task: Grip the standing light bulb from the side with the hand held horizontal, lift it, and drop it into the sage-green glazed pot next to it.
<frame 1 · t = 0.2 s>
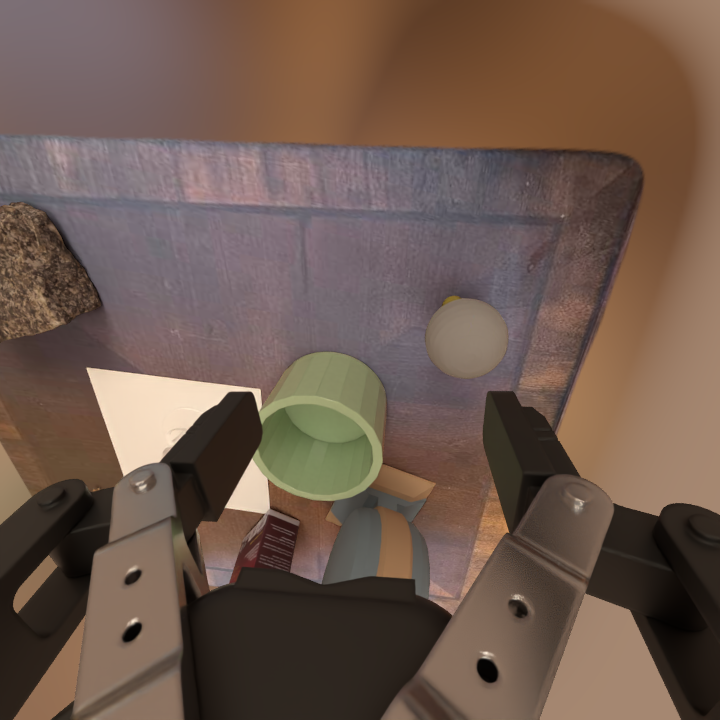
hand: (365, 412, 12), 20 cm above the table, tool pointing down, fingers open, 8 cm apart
alarm clock: (377, 500, 43), on the table
stone: (27, 271, 34), on the table
light bulb: (452, 305, 30), on the table
supplement box: (270, 528, 47), on the table
pot: (332, 400, 36), on the table
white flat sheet: (187, 446, 42), on the table
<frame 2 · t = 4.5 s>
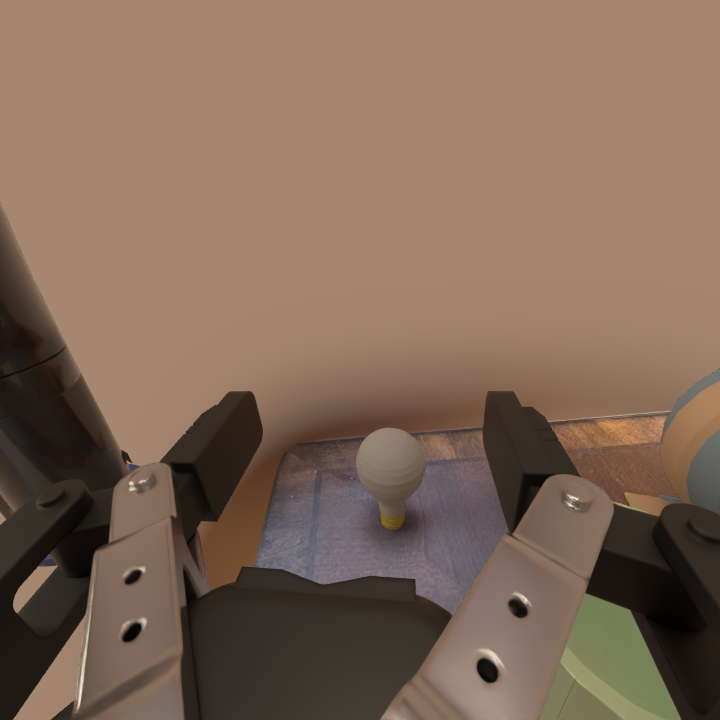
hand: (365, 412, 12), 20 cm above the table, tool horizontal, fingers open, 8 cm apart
light bulb: (393, 525, 31), on the table
pot: (597, 667, 21), on the table
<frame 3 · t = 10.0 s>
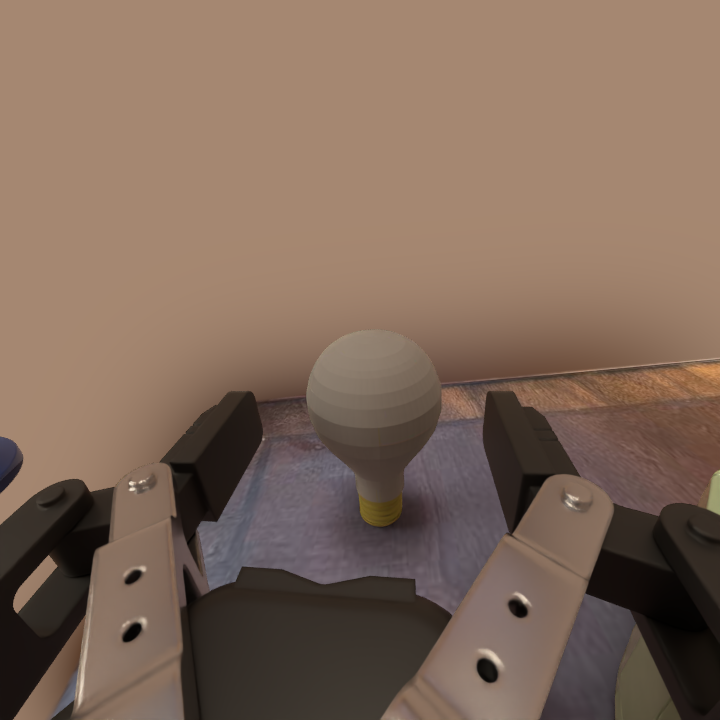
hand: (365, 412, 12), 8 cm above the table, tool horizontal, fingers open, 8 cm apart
light bulb: (382, 519, 17), on the table
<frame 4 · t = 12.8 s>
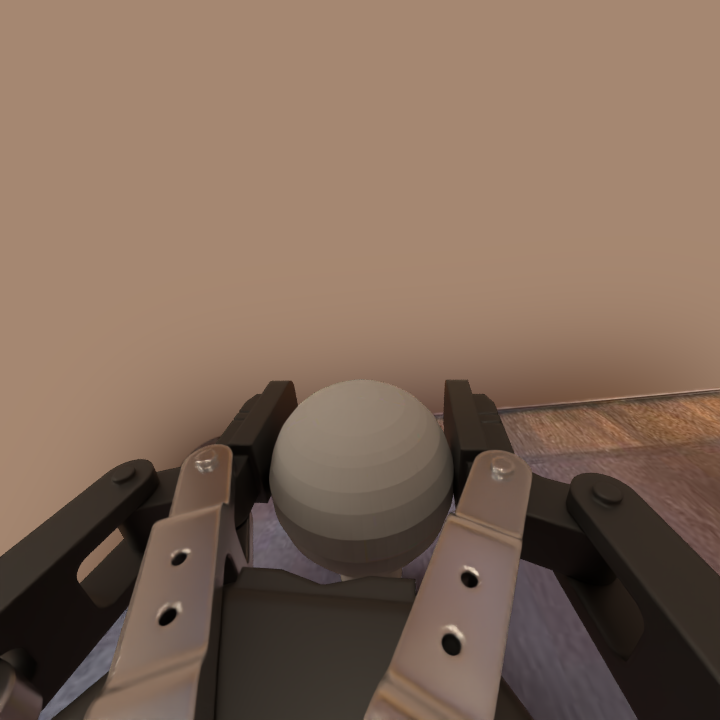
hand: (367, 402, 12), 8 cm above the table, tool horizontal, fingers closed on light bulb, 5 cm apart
light bulb: (374, 607, 14), on the table, touching gripper
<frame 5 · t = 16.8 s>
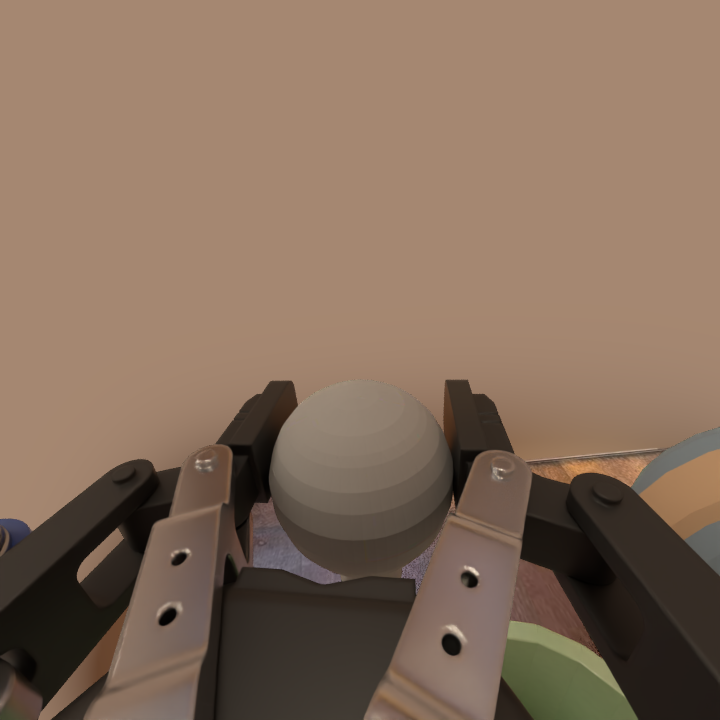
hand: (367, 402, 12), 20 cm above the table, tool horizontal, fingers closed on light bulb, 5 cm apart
light bulb: (374, 607, 14), point 12 cm above the table, touching gripper
when the fingers open (13 cm above the table, at t = 20.8 s): light bulb drops 4 cm, resting on pot.
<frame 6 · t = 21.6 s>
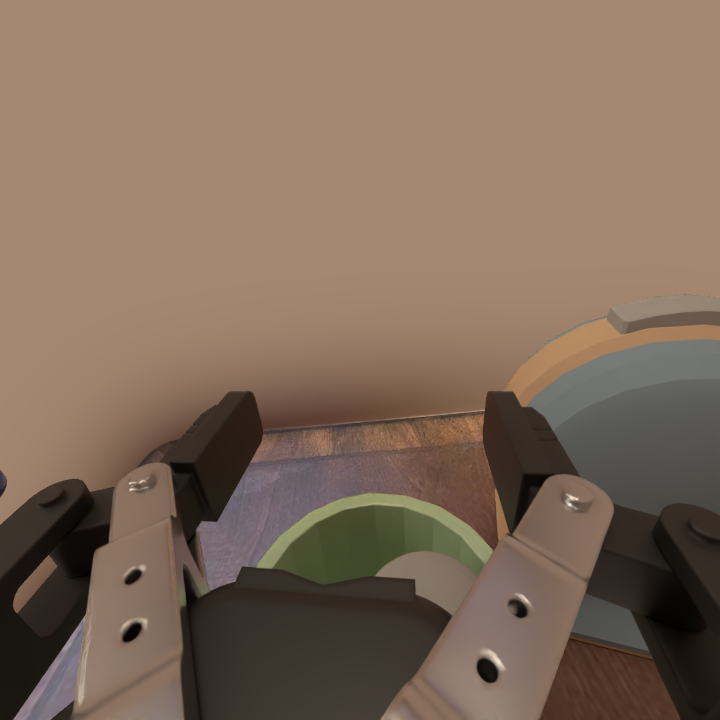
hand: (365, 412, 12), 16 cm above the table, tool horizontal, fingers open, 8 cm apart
alarm clock: (598, 566, 22), on the table
light bulb: (389, 694, 17), point 1 cm above the table, touching pot
pot: (386, 698, 17), on the table
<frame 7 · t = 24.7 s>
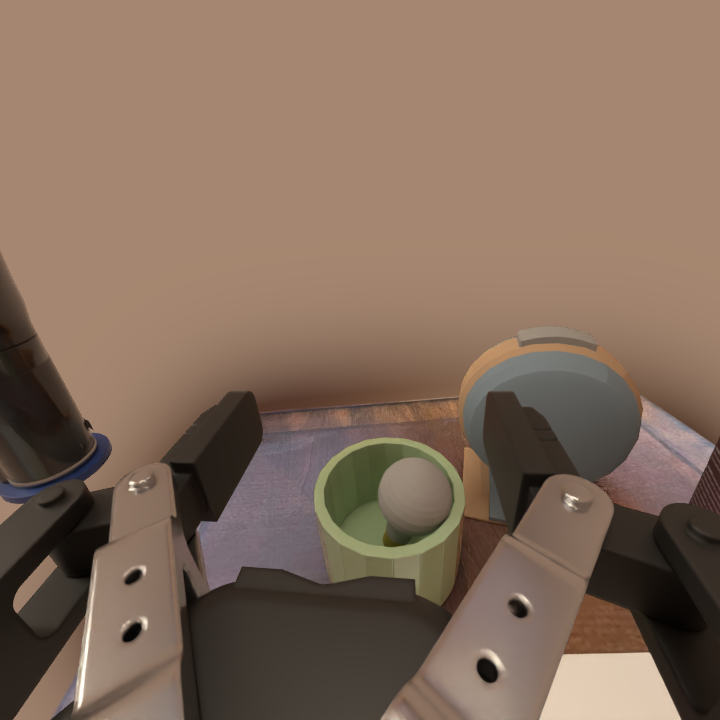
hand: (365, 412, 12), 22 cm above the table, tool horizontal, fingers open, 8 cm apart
alarm clock: (524, 490, 36), on the table
light bulb: (392, 545, 30), point 1 cm above the table, touching pot
pot: (390, 550, 31), on the table
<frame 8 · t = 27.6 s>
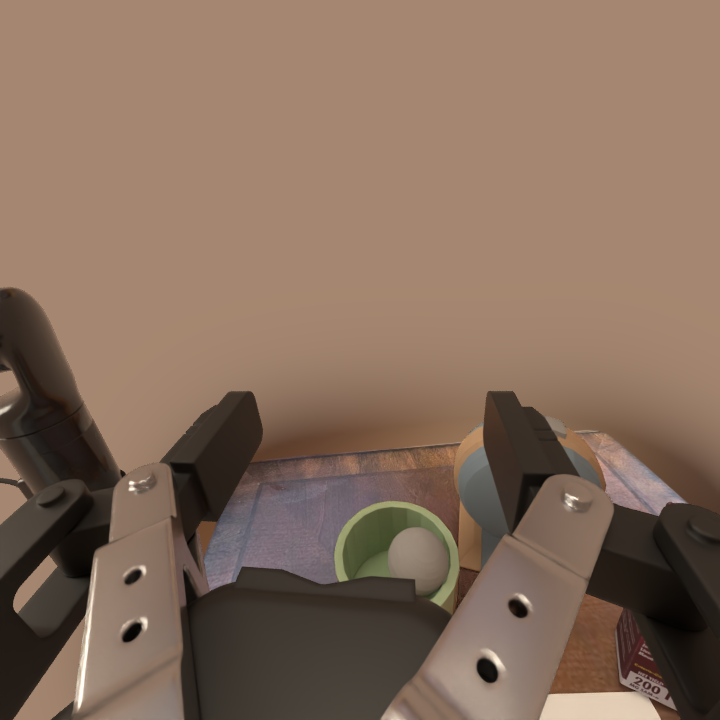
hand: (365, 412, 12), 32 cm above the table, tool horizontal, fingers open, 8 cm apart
alarm clock: (511, 540, 41), on the table
light bulb: (399, 596, 35), point 1 cm above the table, touching pot
supplement box: (678, 689, 28), on the table, touching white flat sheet
pot: (397, 599, 36), on the table
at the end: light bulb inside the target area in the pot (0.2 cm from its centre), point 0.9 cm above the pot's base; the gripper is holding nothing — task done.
